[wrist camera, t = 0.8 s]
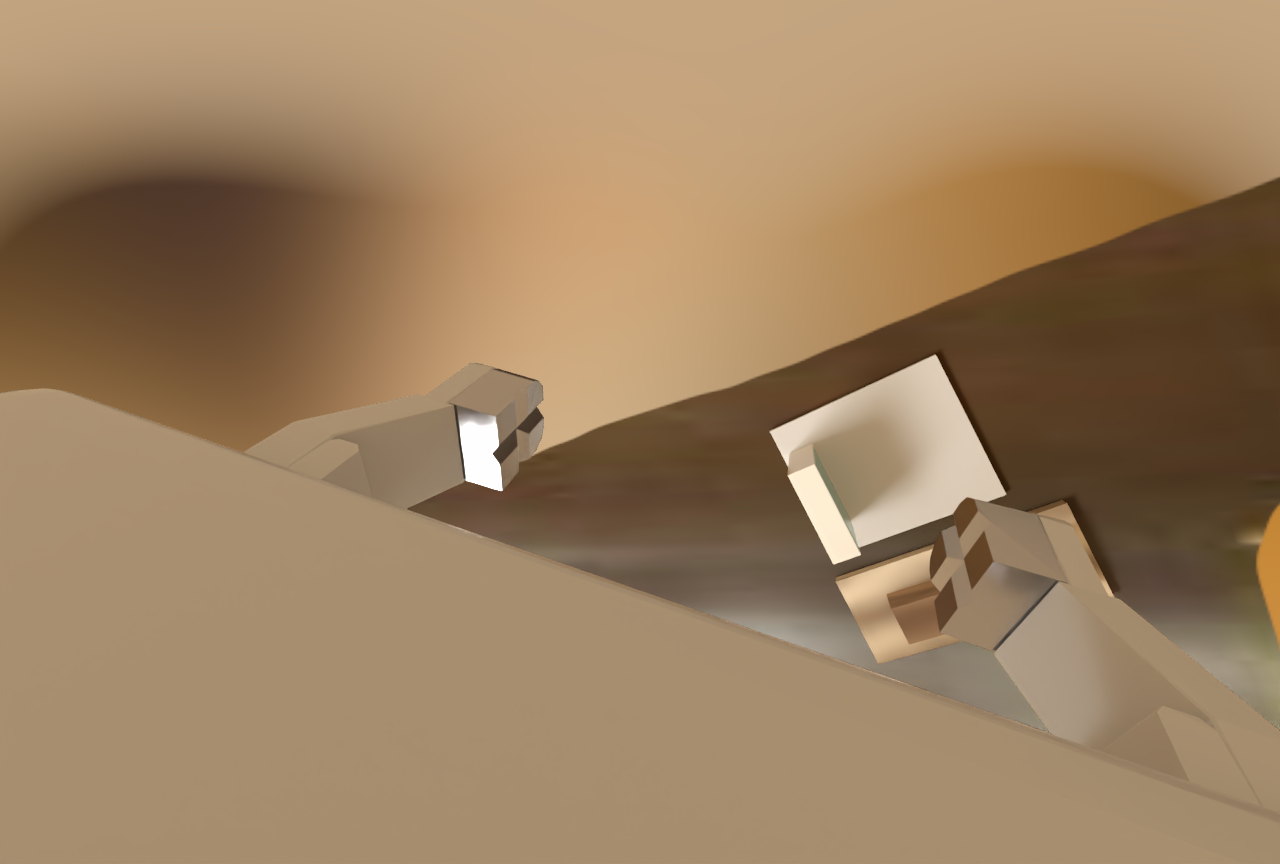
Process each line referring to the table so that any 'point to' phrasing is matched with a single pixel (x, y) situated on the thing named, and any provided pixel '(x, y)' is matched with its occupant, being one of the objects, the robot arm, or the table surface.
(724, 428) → the table surface
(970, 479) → the mat
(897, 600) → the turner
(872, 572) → the board
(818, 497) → the tile
